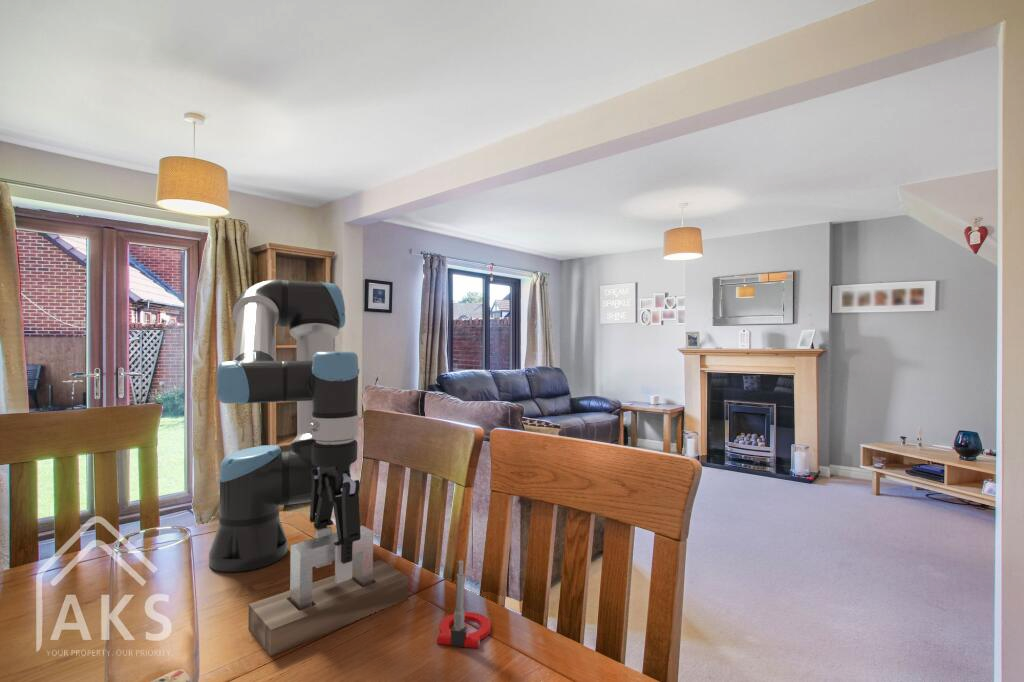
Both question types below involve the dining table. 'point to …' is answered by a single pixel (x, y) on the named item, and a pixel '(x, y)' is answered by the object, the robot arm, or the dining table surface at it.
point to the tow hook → (462, 621)
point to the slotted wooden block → (324, 608)
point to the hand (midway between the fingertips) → (333, 572)
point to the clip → (323, 552)
